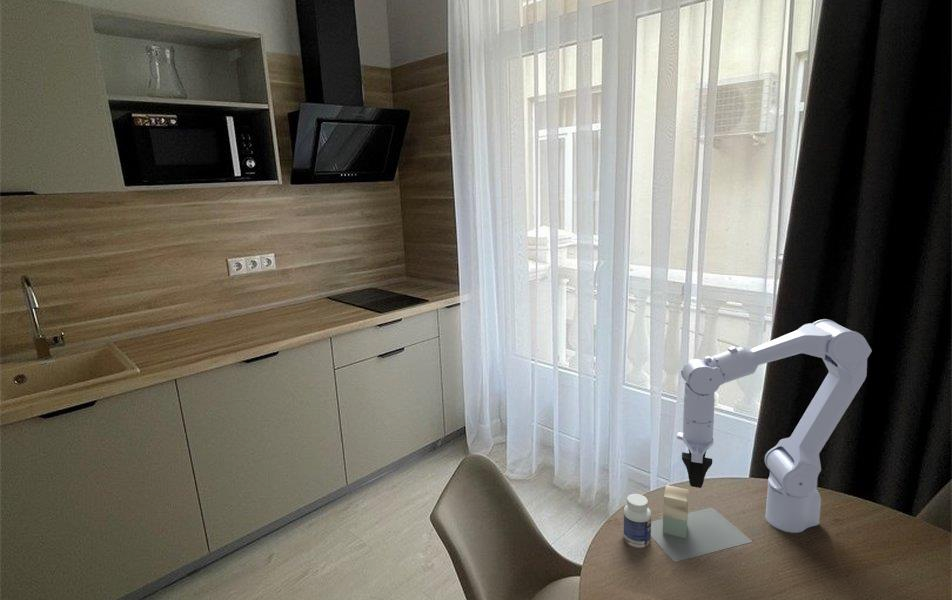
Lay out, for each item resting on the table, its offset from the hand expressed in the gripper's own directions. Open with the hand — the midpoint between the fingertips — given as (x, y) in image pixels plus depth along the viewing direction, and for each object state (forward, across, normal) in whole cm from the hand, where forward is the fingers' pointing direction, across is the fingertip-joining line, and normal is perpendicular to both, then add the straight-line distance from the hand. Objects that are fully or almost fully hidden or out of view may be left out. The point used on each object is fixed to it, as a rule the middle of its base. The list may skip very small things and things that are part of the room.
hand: (696, 476), depth 103 cm
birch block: (+5, +6, -4) cm, 9 cm away
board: (+10, +6, 0) cm, 12 cm away
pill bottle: (+10, +12, -11) cm, 19 cm away
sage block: (+9, +6, -4) cm, 12 cm away
